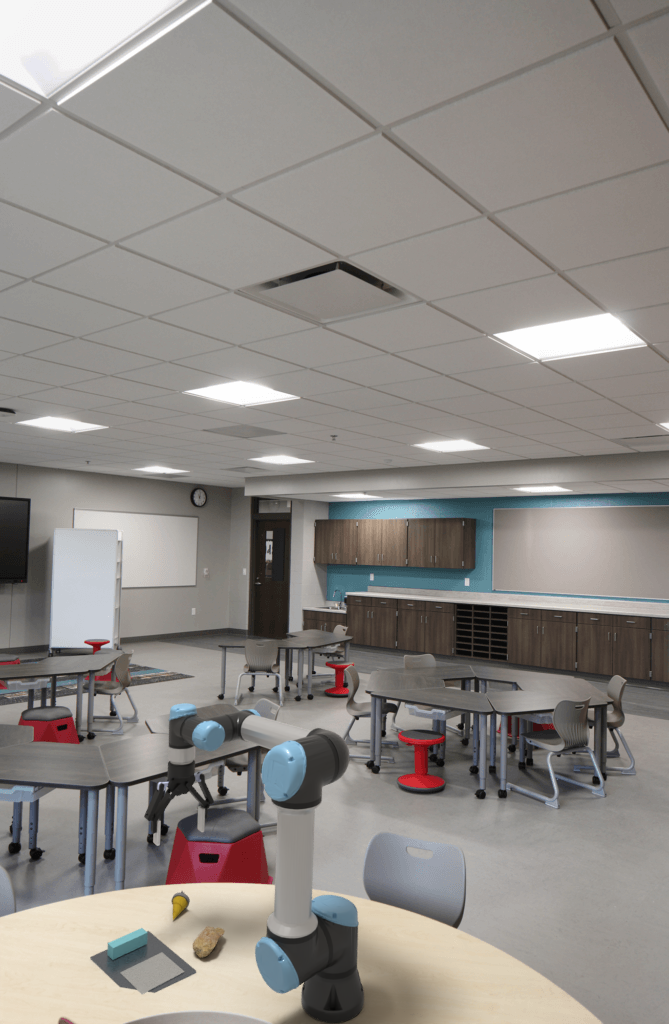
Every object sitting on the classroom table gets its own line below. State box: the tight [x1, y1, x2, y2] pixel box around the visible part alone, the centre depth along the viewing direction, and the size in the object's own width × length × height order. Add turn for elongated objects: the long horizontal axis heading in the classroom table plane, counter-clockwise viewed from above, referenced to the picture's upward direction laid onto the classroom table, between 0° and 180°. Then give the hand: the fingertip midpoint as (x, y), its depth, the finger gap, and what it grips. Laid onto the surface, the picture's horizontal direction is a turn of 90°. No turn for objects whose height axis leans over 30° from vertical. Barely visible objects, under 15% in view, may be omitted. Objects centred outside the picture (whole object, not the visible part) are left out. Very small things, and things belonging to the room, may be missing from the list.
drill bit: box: [171, 890, 191, 921], centre depth 195 cm, size 5×5×10 cm
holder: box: [90, 930, 197, 995], centre depth 169 cm, size 24×17×1 cm
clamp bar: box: [107, 927, 148, 960], centre depth 175 cm, size 3×10×3 cm, turn 135°
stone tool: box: [192, 925, 226, 958], centre depth 177 cm, size 9×7×10 cm
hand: (179, 837), depth 183 cm, fingers open, 13 cm apart
